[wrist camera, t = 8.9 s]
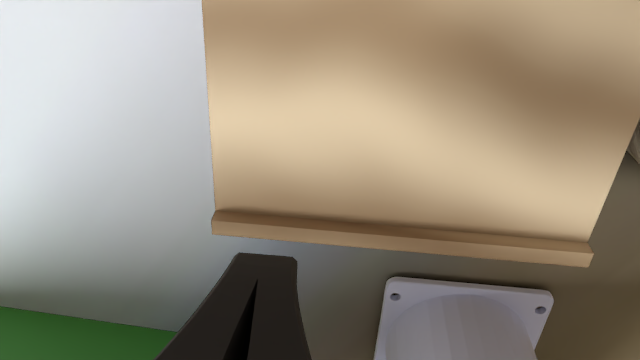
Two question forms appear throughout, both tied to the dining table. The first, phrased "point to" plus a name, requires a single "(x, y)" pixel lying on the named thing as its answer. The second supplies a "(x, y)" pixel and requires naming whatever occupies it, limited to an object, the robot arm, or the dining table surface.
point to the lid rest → (421, 122)
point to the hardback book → (74, 338)
